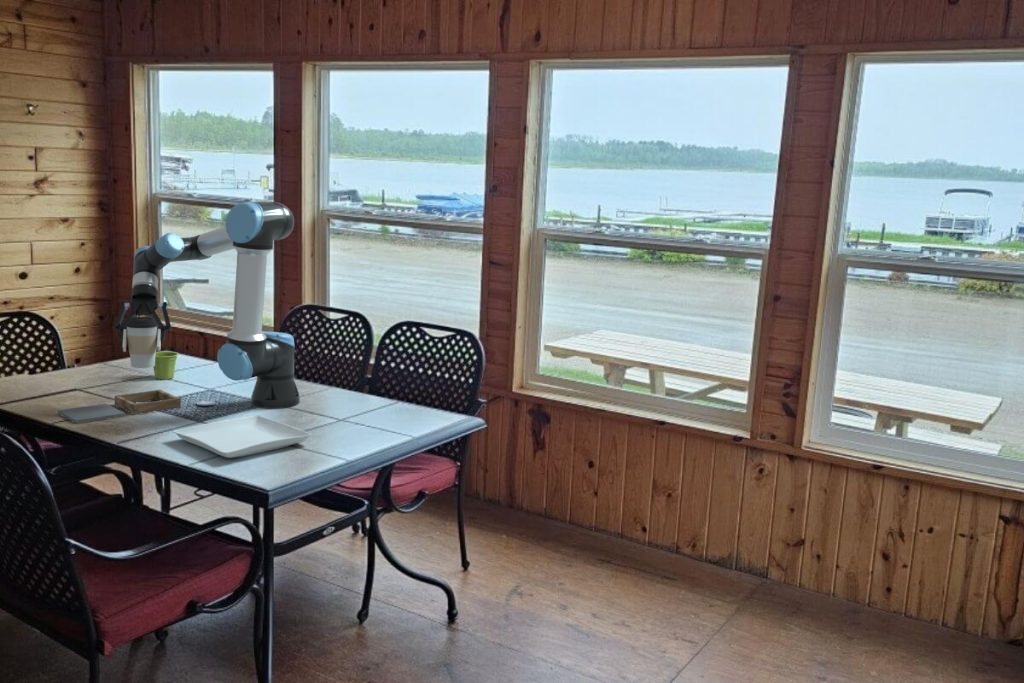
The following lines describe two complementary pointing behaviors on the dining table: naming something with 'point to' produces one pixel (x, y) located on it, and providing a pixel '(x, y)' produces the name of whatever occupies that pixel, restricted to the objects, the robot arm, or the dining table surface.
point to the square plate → (243, 436)
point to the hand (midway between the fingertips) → (141, 349)
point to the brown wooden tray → (130, 402)
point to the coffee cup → (142, 341)
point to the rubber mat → (91, 413)
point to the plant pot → (165, 365)
